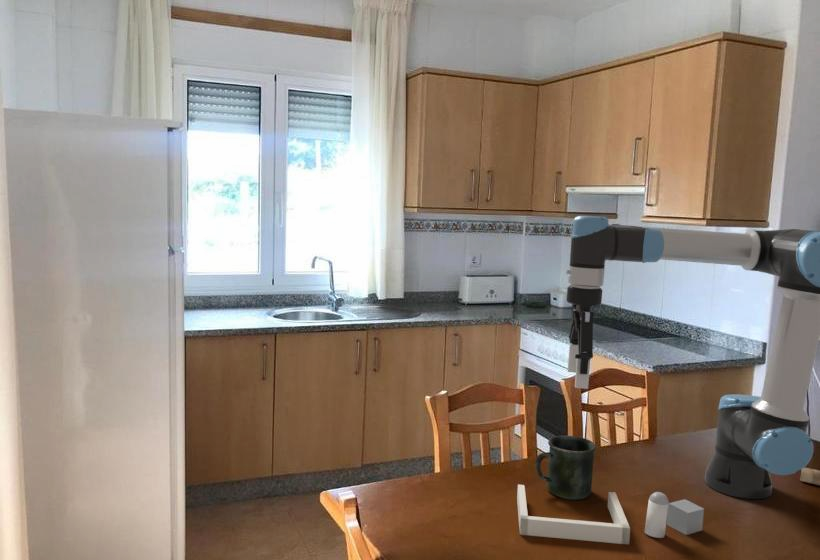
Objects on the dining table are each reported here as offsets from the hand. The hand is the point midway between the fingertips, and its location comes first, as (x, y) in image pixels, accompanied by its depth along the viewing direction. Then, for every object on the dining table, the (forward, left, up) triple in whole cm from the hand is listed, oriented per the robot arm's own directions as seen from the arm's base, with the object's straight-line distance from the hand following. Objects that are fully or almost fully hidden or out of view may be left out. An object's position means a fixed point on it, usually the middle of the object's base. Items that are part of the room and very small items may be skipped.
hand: (577, 379), depth 153 cm
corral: (+1, +8, -29) cm, 30 cm away
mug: (+1, -6, -30) cm, 30 cm away
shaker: (-16, +11, -29) cm, 35 cm away
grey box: (-24, +7, -29) cm, 38 cm away
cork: (-61, -25, -28) cm, 72 cm away
